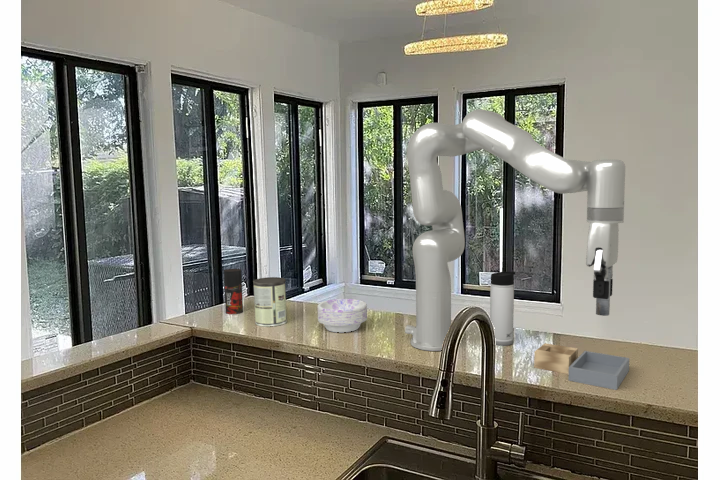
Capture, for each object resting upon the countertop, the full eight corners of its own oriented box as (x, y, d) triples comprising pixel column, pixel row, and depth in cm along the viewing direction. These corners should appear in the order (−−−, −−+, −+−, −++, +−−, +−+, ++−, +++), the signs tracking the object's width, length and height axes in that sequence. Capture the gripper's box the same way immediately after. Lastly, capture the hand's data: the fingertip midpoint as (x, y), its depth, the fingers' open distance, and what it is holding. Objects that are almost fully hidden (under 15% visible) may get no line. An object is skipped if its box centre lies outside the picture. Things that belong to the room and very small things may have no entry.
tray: (568, 380, 122) (568, 367, 122) (584, 362, 133) (584, 350, 133) (616, 390, 116) (617, 376, 116) (628, 370, 128) (629, 358, 127)
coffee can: (260, 318, 182) (259, 276, 180) (290, 319, 180) (289, 277, 179) (250, 326, 172) (248, 282, 170) (281, 327, 170) (280, 283, 168)
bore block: (534, 367, 131) (534, 351, 130) (544, 358, 137) (544, 343, 137) (568, 374, 126) (568, 357, 126) (577, 364, 133) (578, 348, 132)
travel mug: (515, 346, 147) (516, 273, 145) (490, 345, 149) (491, 273, 146) (513, 339, 153) (514, 269, 151) (489, 338, 155) (490, 269, 152)
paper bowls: (322, 337, 158) (321, 311, 157) (314, 324, 173) (313, 300, 172) (372, 333, 162) (372, 307, 161) (360, 320, 177) (360, 296, 176)
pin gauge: (593, 314, 123) (594, 262, 122) (596, 311, 125) (598, 260, 124) (608, 316, 121) (610, 263, 120) (611, 313, 124) (613, 261, 122)
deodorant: (223, 314, 188) (221, 271, 186) (228, 310, 194) (226, 268, 192) (240, 314, 187) (238, 271, 186) (245, 310, 193) (243, 268, 192)
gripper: (595, 213, 130) (593, 289, 132) (577, 217, 116) (575, 301, 118) (630, 213, 125) (627, 292, 127) (615, 218, 112) (612, 306, 114)
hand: (602, 296), depth 123 cm, fingers closed on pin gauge, 2 cm apart
